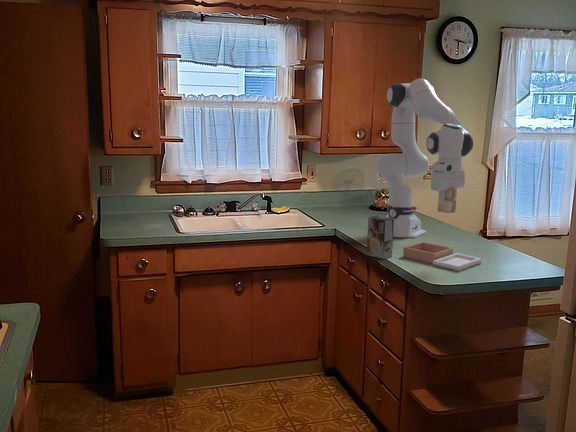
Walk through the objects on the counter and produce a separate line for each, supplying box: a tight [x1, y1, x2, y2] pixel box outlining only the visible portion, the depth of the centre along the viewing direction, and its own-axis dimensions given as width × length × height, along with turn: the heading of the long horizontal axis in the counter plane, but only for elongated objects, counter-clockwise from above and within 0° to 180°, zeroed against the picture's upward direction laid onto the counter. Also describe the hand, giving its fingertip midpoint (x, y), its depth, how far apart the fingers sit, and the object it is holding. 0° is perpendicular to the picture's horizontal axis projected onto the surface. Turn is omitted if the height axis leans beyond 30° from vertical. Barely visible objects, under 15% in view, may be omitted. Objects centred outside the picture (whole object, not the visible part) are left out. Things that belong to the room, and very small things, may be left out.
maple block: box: [437, 187, 458, 214], centre depth 236 cm, size 5×5×10 cm
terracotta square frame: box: [402, 241, 454, 264], centre depth 246 cm, size 15×15×4 cm
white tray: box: [432, 252, 482, 272], centre depth 236 cm, size 18×11×2 cm, turn 135°
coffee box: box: [366, 215, 394, 260], centre depth 245 cm, size 9×6×16 cm
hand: (447, 200), depth 236 cm, fingers closed on maple block, 5 cm apart
